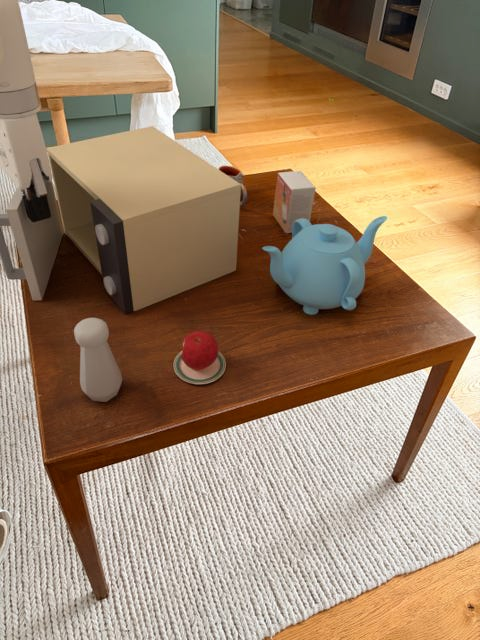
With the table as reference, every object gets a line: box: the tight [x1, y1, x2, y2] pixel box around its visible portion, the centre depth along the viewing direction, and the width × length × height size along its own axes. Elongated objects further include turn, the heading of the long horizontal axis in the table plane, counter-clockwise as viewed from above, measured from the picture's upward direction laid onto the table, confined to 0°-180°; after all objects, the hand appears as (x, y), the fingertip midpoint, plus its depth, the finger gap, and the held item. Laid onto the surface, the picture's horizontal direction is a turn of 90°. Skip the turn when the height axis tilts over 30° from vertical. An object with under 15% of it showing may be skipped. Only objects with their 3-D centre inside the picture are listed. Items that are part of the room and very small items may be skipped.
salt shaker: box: [73, 317, 123, 403], centre depth 68 cm, size 6×6×13 cm
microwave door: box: [0, 180, 64, 301], centre depth 88 cm, size 6×22×18 cm, turn 5°
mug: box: [217, 165, 248, 208], centre depth 114 cm, size 12×7×7 cm, turn 25°
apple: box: [173, 330, 227, 385], centre depth 74 cm, size 8×8×6 cm
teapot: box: [261, 215, 388, 316], centre depth 87 cm, size 16×20×14 cm
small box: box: [272, 170, 317, 234], centre depth 107 cm, size 8×6×10 cm
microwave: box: [46, 125, 241, 315], centre depth 93 cm, size 24×30×18 cm
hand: (39, 217), depth 79 cm, fingers closed
